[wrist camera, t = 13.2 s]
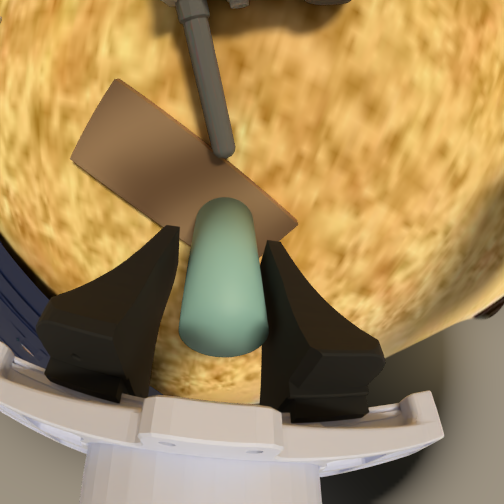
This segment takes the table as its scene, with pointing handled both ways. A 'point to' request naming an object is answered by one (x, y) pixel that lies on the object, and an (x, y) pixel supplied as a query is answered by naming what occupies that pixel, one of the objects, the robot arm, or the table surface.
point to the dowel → (223, 283)
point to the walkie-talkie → (212, 68)
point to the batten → (167, 167)
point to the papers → (23, 314)
